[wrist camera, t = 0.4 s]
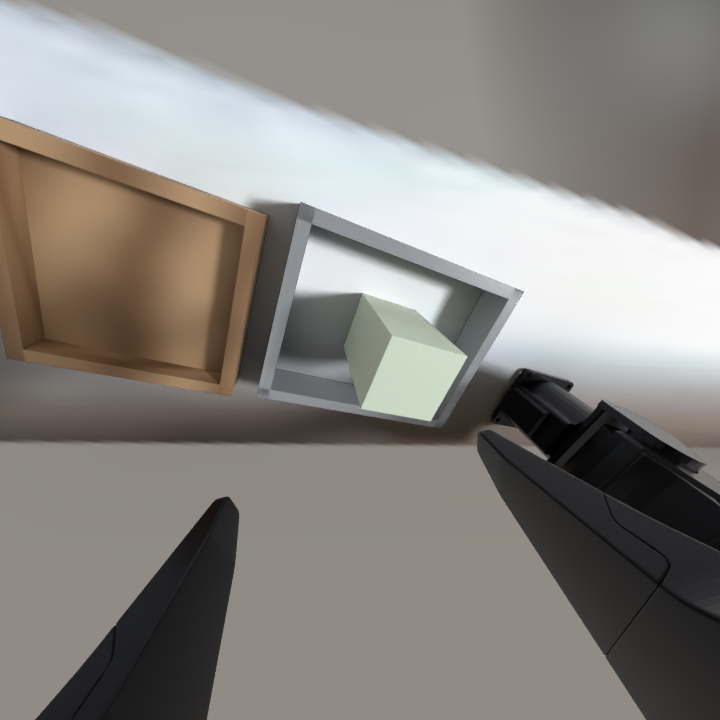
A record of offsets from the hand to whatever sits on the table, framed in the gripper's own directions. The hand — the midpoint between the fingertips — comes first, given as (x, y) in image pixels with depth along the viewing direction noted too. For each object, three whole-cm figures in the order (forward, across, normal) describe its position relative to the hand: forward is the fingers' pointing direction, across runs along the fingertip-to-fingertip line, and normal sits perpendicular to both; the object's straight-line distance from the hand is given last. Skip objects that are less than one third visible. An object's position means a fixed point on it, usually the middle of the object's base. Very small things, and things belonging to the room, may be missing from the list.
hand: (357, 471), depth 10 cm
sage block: (+13, -4, 0) cm, 14 cm away
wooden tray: (+13, +10, -6) cm, 18 cm away
